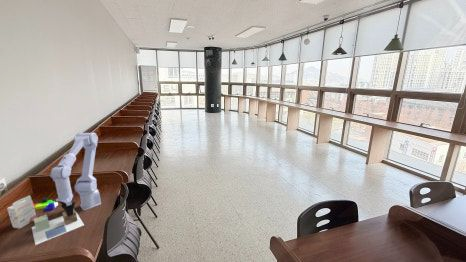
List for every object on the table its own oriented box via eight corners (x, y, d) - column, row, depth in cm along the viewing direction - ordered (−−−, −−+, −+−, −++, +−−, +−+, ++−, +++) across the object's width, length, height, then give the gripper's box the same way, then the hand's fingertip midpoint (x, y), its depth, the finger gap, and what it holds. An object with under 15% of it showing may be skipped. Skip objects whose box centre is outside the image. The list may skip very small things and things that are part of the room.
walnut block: (75, 216, 120) (73, 208, 119) (77, 220, 117) (75, 212, 115) (64, 220, 116) (62, 212, 115) (66, 225, 113) (64, 216, 112)
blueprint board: (76, 211, 125) (76, 211, 125) (84, 225, 113) (84, 225, 113) (31, 228, 112) (31, 227, 112) (35, 245, 100) (35, 245, 100)
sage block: (48, 222, 115) (46, 214, 114) (49, 227, 112) (47, 218, 110) (35, 227, 112) (33, 218, 110) (37, 232, 108) (34, 223, 107)
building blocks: (62, 199, 139) (61, 193, 138) (53, 210, 127) (52, 204, 126) (33, 204, 134) (32, 197, 133) (21, 216, 123) (19, 209, 122)
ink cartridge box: (30, 218, 120) (24, 193, 117) (37, 219, 119) (31, 194, 116) (12, 228, 112) (4, 202, 109) (19, 229, 111) (12, 203, 108)
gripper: (51, 187, 114) (56, 210, 117) (56, 196, 104) (62, 221, 108) (68, 182, 119) (72, 204, 122) (74, 191, 109) (79, 215, 113)
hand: (68, 212), depth 115 cm, fingers open, 7 cm apart
